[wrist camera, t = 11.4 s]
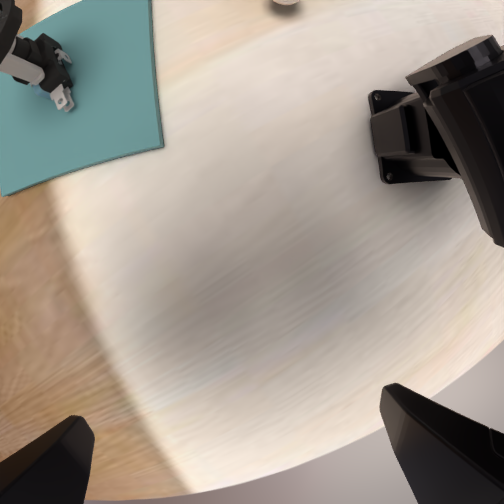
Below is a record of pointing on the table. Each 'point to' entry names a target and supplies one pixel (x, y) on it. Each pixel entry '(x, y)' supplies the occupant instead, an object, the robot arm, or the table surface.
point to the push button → (33, 59)
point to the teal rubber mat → (84, 96)
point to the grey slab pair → (286, 2)
